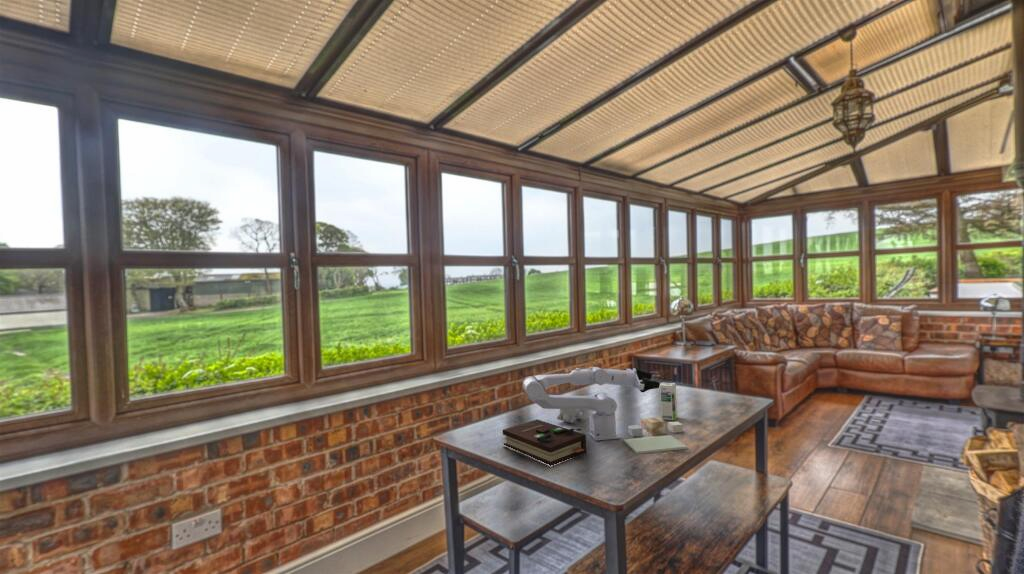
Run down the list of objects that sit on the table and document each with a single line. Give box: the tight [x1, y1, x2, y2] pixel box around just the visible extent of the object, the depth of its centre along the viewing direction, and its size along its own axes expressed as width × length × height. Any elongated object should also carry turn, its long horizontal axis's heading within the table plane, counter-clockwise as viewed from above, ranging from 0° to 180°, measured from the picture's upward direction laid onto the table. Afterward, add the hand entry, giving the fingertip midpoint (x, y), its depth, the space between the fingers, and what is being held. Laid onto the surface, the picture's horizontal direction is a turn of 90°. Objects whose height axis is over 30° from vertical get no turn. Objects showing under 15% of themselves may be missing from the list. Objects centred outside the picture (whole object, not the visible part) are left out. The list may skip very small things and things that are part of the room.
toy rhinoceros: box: [556, 409, 583, 424], centre depth 190 cm, size 7×12×8 cm, turn 125°
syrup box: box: [659, 382, 678, 421], centre depth 188 cm, size 6×6×14 cm
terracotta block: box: [640, 418, 646, 430], centre depth 178 cm, size 4×4×3 cm
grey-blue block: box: [627, 424, 644, 438], centre depth 170 cm, size 4×4×3 cm
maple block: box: [645, 417, 666, 436], centre depth 171 cm, size 5×5×5 cm
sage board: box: [622, 434, 688, 455], centre depth 159 cm, size 18×12×1 cm, turn 97°
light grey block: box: [667, 420, 684, 434], centre depth 172 cm, size 4×4×3 cm
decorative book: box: [502, 419, 587, 466], centre depth 160 cm, size 19×8×30 cm
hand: (655, 380), depth 172 cm, fingers open, 7 cm apart
